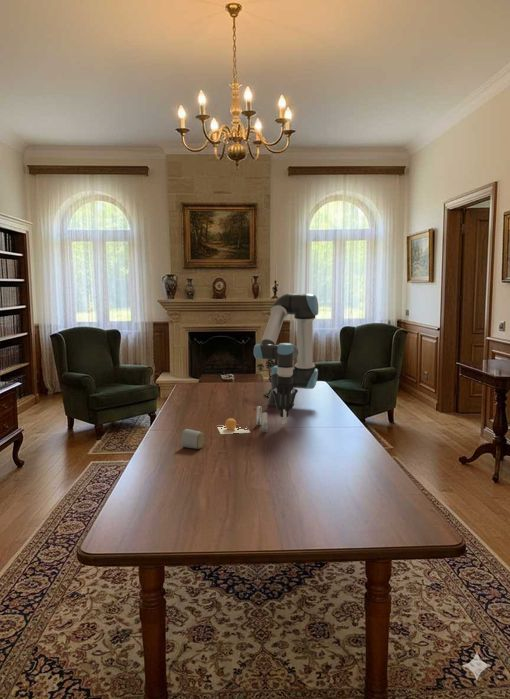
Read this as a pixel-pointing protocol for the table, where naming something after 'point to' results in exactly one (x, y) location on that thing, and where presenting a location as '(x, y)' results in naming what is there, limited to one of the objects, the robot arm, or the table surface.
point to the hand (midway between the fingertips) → (283, 423)
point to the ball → (230, 424)
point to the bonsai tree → (267, 370)
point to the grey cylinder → (192, 439)
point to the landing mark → (225, 431)
